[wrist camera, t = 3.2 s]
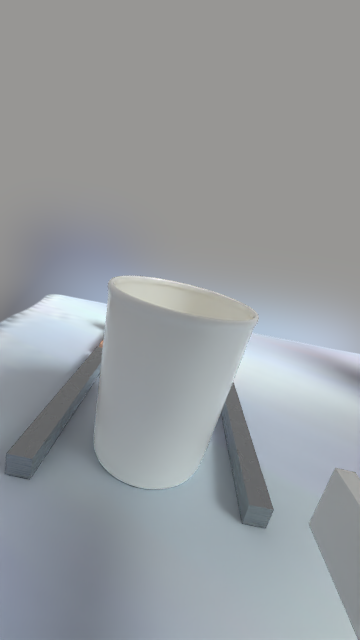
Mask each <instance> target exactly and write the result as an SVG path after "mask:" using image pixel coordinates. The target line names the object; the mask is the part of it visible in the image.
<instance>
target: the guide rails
mask: <svg viewBox="0 0 360 640" xmlns="http://www.w3.org/2000/svg"><path fill="white" fill-rule="evenodd" d="M102 349H103V348H101V347H96V349H95V350H94V351H93V352H92V353H91V354H90V356H89V357H88V358H87V359H86V360H85V362H84V363H83V364H82V365H81V366H80V367H79V369H78V370H77V371H76V372H75V373H74V375H73V376H72V377H71V378H70V379H69V380H68V382H67V383H66V384H65V385H64V386H63V387H62V389H61V390H60V391H59V392H58V393H57V395H56V396H55V397H54V398H53V399H52V400H51V402H50V403H49V404H48V405H47V406H46V408H45V409H44V410H43V411H42V412H41V413H40V415H39V416H38V417H37V418H36V419H35V420H34V422H33V423H32V424H31V425H30V426H29V428H28V429H27V430H26V431H25V432H24V433H23V435H22V436H21V437H20V438H19V439H18V441H17V442H16V443H15V444H14V445H13V446H12V448H11V449H10V450H9V451H8V452H7V454H6V466H5V474H7V475H12V476H17V477H22V478H26V479H31V477H32V476H33V474H34V473H35V471H36V470H37V468H38V467H39V465H40V464H41V462H42V461H43V459H44V457H45V456H46V454H47V453H48V451H49V450H50V448H51V447H52V445H53V444H54V442H55V441H56V439H57V438H58V436H59V435H60V433H61V432H62V430H63V429H64V427H65V426H66V424H67V423H68V421H69V420H70V418H71V416H72V415H73V413H74V412H75V410H76V409H77V407H78V406H79V404H80V403H81V401H82V400H83V398H84V397H85V395H86V394H87V392H88V391H89V389H90V388H91V386H92V385H93V383H94V382H95V380H96V379H97V377H98V376H99V374H100V368H101V358H102ZM221 415H222V420H223V425H224V430H225V436H226V441H227V446H228V452H229V457H230V462H231V467H232V473H233V478H234V483H235V488H236V494H237V499H238V504H239V509H240V515H241V520H242V524H247V525H252V526H257V527H261V528H266V527H267V525H268V522H269V520H270V517H271V515H272V513H273V510H274V509H273V506H272V503H271V500H270V497H269V493H268V490H267V487H266V484H265V481H264V478H263V474H262V471H261V468H260V465H259V462H258V459H257V455H256V452H255V449H254V446H253V443H252V440H251V436H250V433H249V430H248V427H247V424H246V421H245V417H244V414H243V411H242V408H241V405H240V402H239V399H238V395H237V392H236V389H235V386H234V383H232V386H231V388H230V391H229V393H228V396H227V399H226V401H225V404H224V406H223V409H222V411H221Z"/></svg>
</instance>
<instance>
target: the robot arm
mask: <svg viewBox="0 0 360 640" xmlns="http://www.w3.org/2000/svg"><path fill="white" fill-rule="evenodd" d="M309 526H310V528H311V530H312V533H313V535H314V537H315V540H316V542H317V544H318V547H319V549H320V551H321V554H322V556H323V559H324V561H325V563H326V566H327V568H328V570H329V573H330V575H331V577H332V580H333V582H334V584H335V587H336V589H337V591H338V594H339V596H340V598H341V601H342V603H343V605H344V608H345V610H346V612H347V615H348V617H349V619H350V622H351V624H352V627H353V629H354V631H355V634H356V636H357V638H358V640H360V478H359V477H358V476H357V474H356V473H355V472H352V471H347V470H343V469H338V468H335V470H334V472H333V474H332V476H331V478H330V480H329V482H328V484H327V486H326V489H325V491H324V493H323V495H322V497H321V499H320V501H319V503H318V505H317V507H316V510H315V512H314V514H313V516H312V518H311V520H310V522H309Z"/></svg>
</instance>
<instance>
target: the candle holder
mask: <svg viewBox="0 0 360 640" xmlns="http://www.w3.org/2000/svg"><path fill="white" fill-rule="evenodd" d="M258 319H259V317H258V314H257V313H256V312H255V311H254V310H253V309H252V308H250V307H249V306H247V305H245V304H243V303H241V302H239V301H237V300H235V299H232V298H230V297H227V296H225V295H221V294H219V293H216V292H213V291H210V290H206V289H203V288H199V287H196V286H192V285H188V284H184V283H179V282H175V281H170V280H164V279H158V278H152V277H143V276H118V277H114V278H112V279H111V280H110V281H109V283H108V303H107V312H106V321H105V330H104V340H103V349H102V358H101V368H100V377H99V386H98V396H97V405H96V415H95V426H94V449H95V453H96V456H97V458H98V460H99V462H100V463H101V465H102V466H103V467H104V468H105V469H106V470H107V471H108V472H109V473H110V474H111V475H112V476H114V477H115V478H117V479H118V480H120V481H122V482H124V483H126V484H129V485H132V486H135V487H139V488H144V489H167V488H171V487H175V486H177V485H180V484H182V483H184V482H185V481H187V480H188V479H189V478H191V477H192V476H193V475H194V473H195V472H196V471H197V469H198V467H199V466H200V464H201V461H202V459H203V457H204V454H205V452H206V449H207V447H208V445H209V442H210V439H211V437H212V434H213V432H214V429H215V427H216V424H217V422H218V419H219V417H220V414H221V411H222V409H223V406H224V404H225V401H226V399H227V396H228V393H229V391H230V388H231V386H232V383H233V381H234V378H235V375H236V373H237V370H238V368H239V365H240V362H241V360H242V357H243V355H244V352H245V350H246V347H247V345H248V342H249V339H250V337H251V334H252V332H253V330H254V328H255V326H256V324H257V322H258Z"/></svg>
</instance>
